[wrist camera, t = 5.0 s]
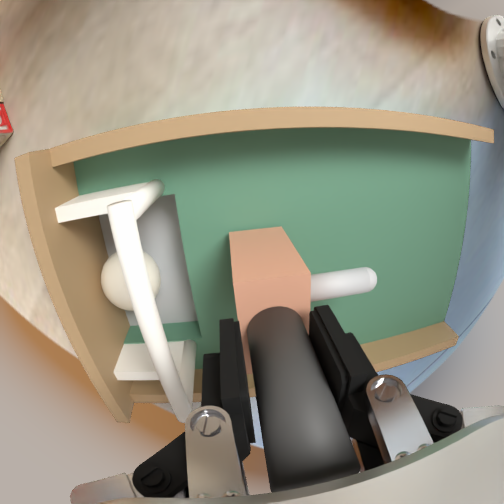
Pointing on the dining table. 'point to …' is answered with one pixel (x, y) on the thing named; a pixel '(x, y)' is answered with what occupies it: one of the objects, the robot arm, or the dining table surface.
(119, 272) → the ball
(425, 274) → the pitch
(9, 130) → the stack of blocks
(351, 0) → the dining table surface
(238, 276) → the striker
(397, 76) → the dining table surface
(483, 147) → the dining table surface
